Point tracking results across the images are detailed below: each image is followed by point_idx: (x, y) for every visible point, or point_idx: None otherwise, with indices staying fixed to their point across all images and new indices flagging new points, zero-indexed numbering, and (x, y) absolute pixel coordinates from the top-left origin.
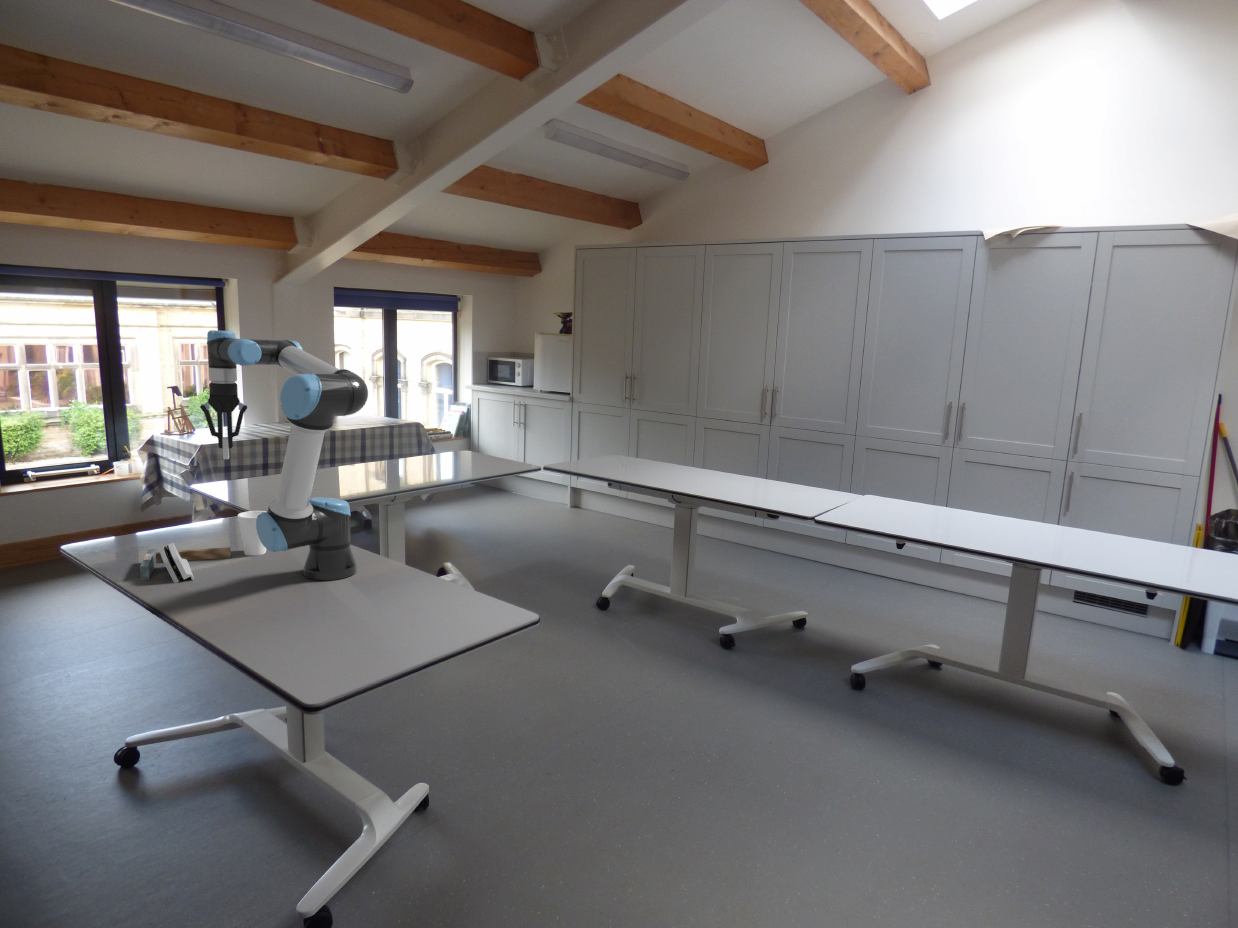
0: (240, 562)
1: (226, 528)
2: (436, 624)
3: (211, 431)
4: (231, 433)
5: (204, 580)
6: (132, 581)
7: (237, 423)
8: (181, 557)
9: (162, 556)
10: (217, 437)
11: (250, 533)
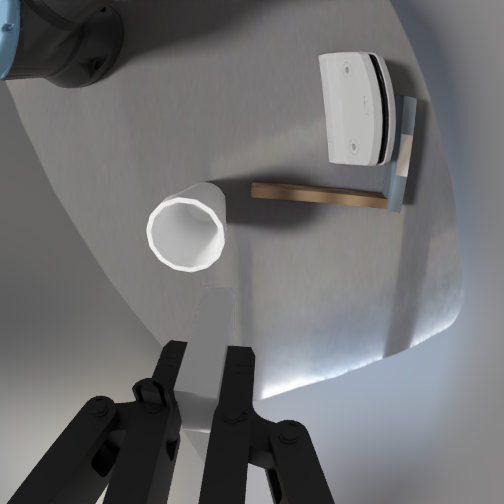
0: (233, 141)
1: (257, 361)
2: None
3: (306, 457)
4: (134, 422)
5: (300, 46)
6: (416, 96)
7: (56, 484)
8: (342, 191)
9: (387, 74)
10: (257, 414)
11: (202, 191)
